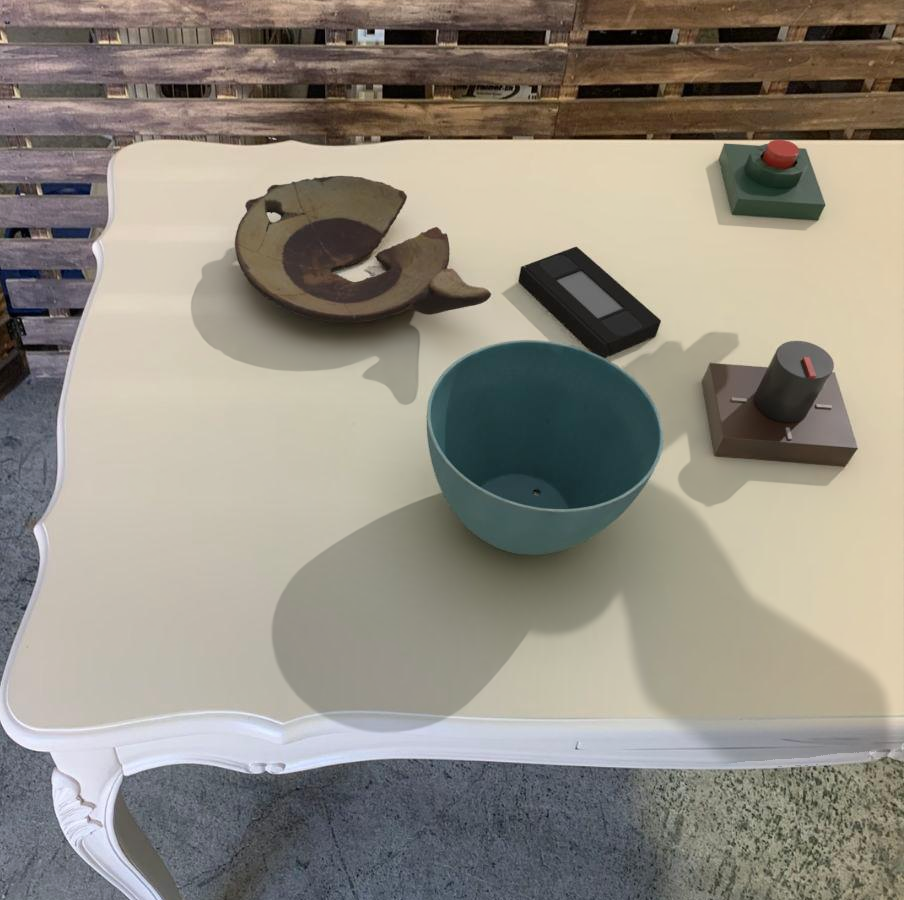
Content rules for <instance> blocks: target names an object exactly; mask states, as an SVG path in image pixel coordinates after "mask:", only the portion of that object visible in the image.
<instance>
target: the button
mask: <svg viewBox="0 0 904 900" xmlns="http://www.w3.org/2000/svg"><path fill="white" fill-rule="evenodd" d="M767 144H768V145H767V148H766V150H765V153H764V155H763V158H762V161H763V162H765V163H766V164H767V165H769V166H772V167H775V168H777V169H789V168H792V166H793V165H794V162H795V160H796V158H797V155H798V153H799V148H800V147H798V145H796V144H795V143H793V142H791V141H790V140H784V139H774V140H770V141H769V142H768V143H767Z"/></svg>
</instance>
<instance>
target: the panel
mask: <svg viewBox="0 0 904 900" xmlns="http://www.w3.org/2000/svg"><path fill="white" fill-rule="evenodd" d="M767 368H768V366H756V365H742V364H730V363H718V362H717V363H715V362H709V364H708V365H707V367H706V370H705V373H704V375H703V377H702V379H701V385H702V391H703V396H704V397H703V398H704V402H705V403H704V404H705V407H706V408H705V410H706V414H707V419H708V420H707V421H708V425H709V430H710V437H711V442H712V447H713V454H714V456H715V457H724V458H725V457H726V458H737V459H748V460H749V459H750V460H763V461H775V462H788V463H798V464H799V463H801V464H810V465H813V464H814V465H824V466H835V467H837V466H838V467H847V465H848V464H849V462H850V461H851V459H852V458H853V457H854V455H855V454H856V452H857V450H858V449H859V448H858V444H857V440H856V437H855V435H854V431H853V428H852V424H851V420H850V417H849V414H848V411H847V408H846V405H845V401H844V398H843V394H842V391H841V388H840V385H839V382H838V378H837V374H836V372H834V371H832V373H831V375H830V376H829V378H828V380H827V382H826V383H825V385H824V387H823V388H822V390H821V392H820V394H819V395H818V397H817V399H816V401H815V402H814V404H813V406H812V407H811V409H810V411H809V413H808V414H807V416H806V417H805V418H803V419H802V420H800V421H797V422H780V421H777V420H774V419H771V418H769V417H768V416H766V415H764V414H763V413H762V412H761V411H760V410H759V409H758V408H757V406H756V404H755V401H754V395H755V392H756V390H757V388H758V386H759V384H760V382H761V380H762V378H763V376H764V374H765V372H766V370H767Z"/></svg>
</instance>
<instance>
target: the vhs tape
mask: <svg viewBox="0 0 904 900" xmlns="http://www.w3.org/2000/svg"><path fill="white" fill-rule="evenodd" d="M518 283H520V285H521V286H523V287H524V288H525V289H526V290H527V291H528V292H529V293H530V294H531V295H532V296H533V297H534V298H535V299H536V300H537V301H538V302H539V303H540V304H542V306H543V307H544V308H545V309H547V310H548V311H549V312H550V313H551V314H552V315H553V316H554V317H555V318H556V319H557V320H558V321H559V322H560V323H561V324H562V325H563V326H564V327H565V328H566V329H567V330H568V331H570V333H572V334H573V336H575V338H577V339H578V340H579V341H580V342H581V343H582V344H583V345H584V346H585V347H586V348H587V349H588V351H590V352H592V353H594V354H597V355H599V356H601V357H603V358H605V359H606V358H607V357H609V356H612V355H614V354H618V353H619V352H622V351H624V350H627V349H629V348H632V347H634V346H636V345H639V344H641V343H644V342H646V341H648V340H651V339H653V338H655V337H656V336H657V334H658V331H659V329H660V326H661V323H662V320H661V318H659V317H658V316H657V315H656V314H655V313H654V312H652V311H651V310H650V309H649V308H647V307H646V305H644V304H643V303H642V302H641V301H639V300H638V299H637V298H636V297H635V296H634V295H633V294H632V293H631V292H629V291H628V290H627V289H626V288H625V287H624V286H622V285H621V283H619V282H618V281H617V280H616V279H615V278H613V277H612V276H611V275H610V274H609V273H608V272H606V270H604V269H603V268H602V267H601V266H600V265H599V264H597V262H595V261H594V260H593V259H592V258H591V257H589V256H588V255H587V254H586V253H585V252H584V251H583V250H581V249H580V248H579V247H578V246H573V247H571V248H568V249H566V250H563V251H560V252H557V253H554V254H551V255H549V256H546V257H544V258H541V259H538V260H535V261H533V262H530V263H527V264H524V265H522V266H520V270H519V274H518Z"/></svg>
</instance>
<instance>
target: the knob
mask: <svg viewBox="0 0 904 900" xmlns="http://www.w3.org/2000/svg"><path fill="white" fill-rule="evenodd" d="M767 367H768V368H767V370H766V372H765V374H764V376H763V378H762V380H761V382H760V384H759V386H758V388H757V390H756V392H755V395H754V401H755V404H756V406H757V408H758V409H759V410H760V411H761V412H762V413H763V414H764V415H766V416H768V417H769V418H771V419H774V420H777V421H780V422H797V421H800V420H802V419H803V418H805V417H806V416H807V414H808V413H809V411H810V409H811V407H812V406H813V404H814V402H815V401H816V399H817V397H818V395H819V394H820V392H821V390H822V388H823V387H824V385H825V383H826V382H827V380H828V378H829V376H830V375H831V373H832V372H834V368H835V364H834V360H833V358H832V356H831V355H830V353H829V352H828V351H826V350H825V349H824V348H822V347H820V346H819V345H818V344H817V345H816V344H814V343H812V342H808V341H805V340H789V341H786V342H784V343H782V344H781V345H779V346H778V347H777V349H776V350H775V352H774V355H773V356H772V359H771V360H770V362H769V365H768V366H767Z"/></svg>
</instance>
